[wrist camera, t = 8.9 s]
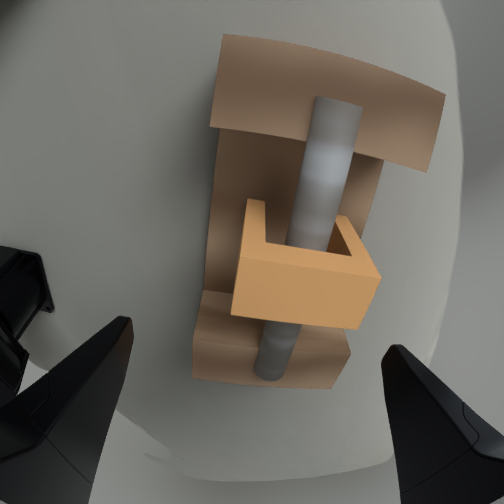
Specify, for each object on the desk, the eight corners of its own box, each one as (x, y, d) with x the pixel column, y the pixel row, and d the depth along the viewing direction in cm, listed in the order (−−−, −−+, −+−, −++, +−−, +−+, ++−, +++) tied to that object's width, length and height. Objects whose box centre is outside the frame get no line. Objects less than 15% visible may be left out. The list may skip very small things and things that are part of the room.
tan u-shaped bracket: (346, 216, 18) (381, 278, 12) (333, 258, 19) (357, 329, 14) (247, 198, 17) (240, 256, 12) (240, 244, 19) (230, 314, 13)
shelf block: (319, 332, 25) (333, 399, 19) (202, 320, 25) (189, 389, 19) (393, 89, 15) (457, 96, 9) (233, 52, 15) (220, 29, 9)
